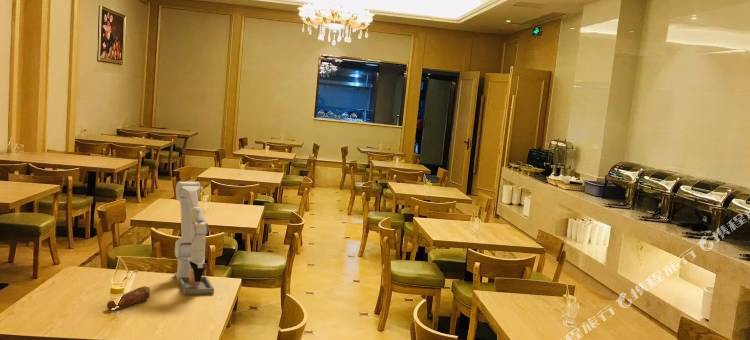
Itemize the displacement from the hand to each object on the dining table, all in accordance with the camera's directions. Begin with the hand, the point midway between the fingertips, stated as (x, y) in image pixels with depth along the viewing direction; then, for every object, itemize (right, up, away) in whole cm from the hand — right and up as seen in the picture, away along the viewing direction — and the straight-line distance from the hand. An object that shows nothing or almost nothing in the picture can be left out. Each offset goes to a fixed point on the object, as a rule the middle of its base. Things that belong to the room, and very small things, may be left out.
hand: (196, 279), depth 277 cm
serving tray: (0, -4, 0) cm, 4 cm away
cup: (-1, -2, 0) cm, 2 cm away
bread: (-19, -6, -27) cm, 33 cm away
